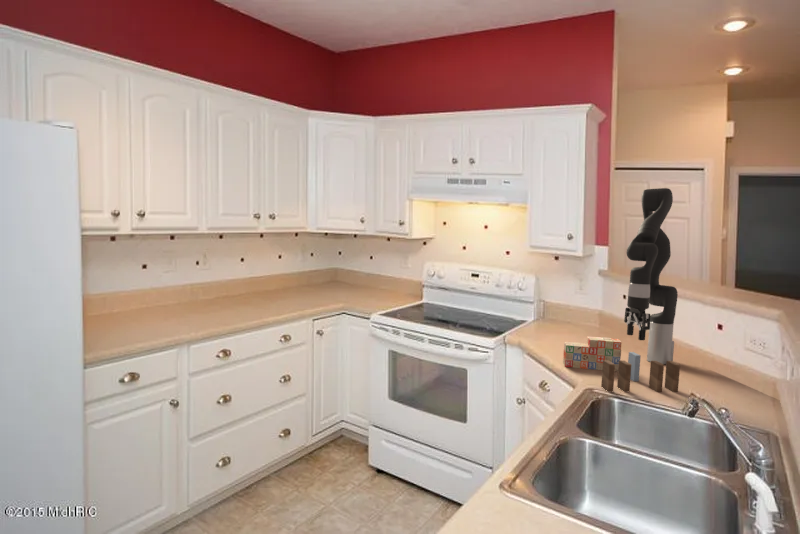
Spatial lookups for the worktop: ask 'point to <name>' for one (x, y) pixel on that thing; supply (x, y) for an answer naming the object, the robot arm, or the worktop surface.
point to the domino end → (608, 375)
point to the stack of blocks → (592, 353)
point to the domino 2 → (634, 365)
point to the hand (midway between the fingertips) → (635, 337)
